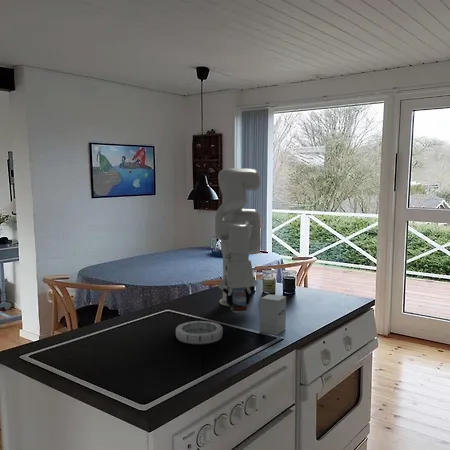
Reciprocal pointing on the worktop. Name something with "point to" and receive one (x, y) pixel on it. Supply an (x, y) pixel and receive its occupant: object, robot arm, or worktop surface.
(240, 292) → the beverage can
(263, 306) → the supplement box
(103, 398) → the worktop surface
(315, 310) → the worktop surface
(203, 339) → the grey segmented ring
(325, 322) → the worktop surface
